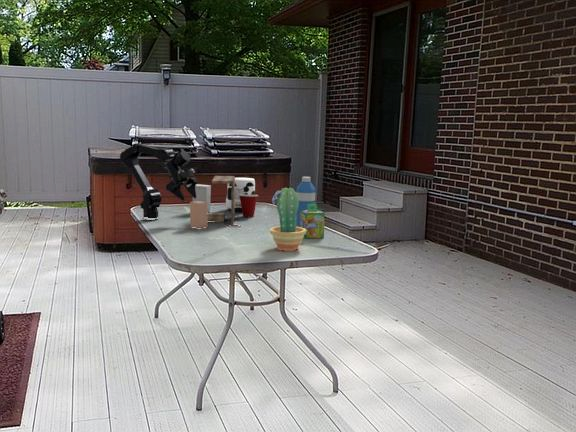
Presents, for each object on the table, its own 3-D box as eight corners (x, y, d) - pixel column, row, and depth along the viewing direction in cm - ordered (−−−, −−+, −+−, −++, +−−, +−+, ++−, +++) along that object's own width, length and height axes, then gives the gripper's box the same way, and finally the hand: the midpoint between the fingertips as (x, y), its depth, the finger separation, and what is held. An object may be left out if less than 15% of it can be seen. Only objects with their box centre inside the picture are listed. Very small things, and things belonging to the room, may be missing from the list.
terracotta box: (190, 227, 281) (190, 202, 279) (198, 226, 285) (198, 200, 283) (199, 229, 278) (199, 203, 275) (207, 227, 282) (207, 201, 280)
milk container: (246, 207, 347) (246, 176, 344) (261, 211, 333) (262, 179, 330) (220, 209, 337) (220, 178, 334) (235, 213, 323) (235, 181, 320)
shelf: (203, 224, 290) (203, 180, 286) (207, 216, 313) (207, 175, 310) (233, 224, 291) (233, 181, 287) (234, 216, 314) (234, 176, 311)
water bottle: (313, 230, 280) (314, 178, 275) (293, 229, 281) (294, 177, 277) (316, 227, 289) (317, 176, 284) (297, 226, 290) (298, 175, 286)
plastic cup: (259, 215, 320) (260, 193, 318) (256, 218, 310) (257, 195, 308) (240, 214, 321) (240, 192, 319) (236, 217, 311) (236, 195, 309)
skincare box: (192, 213, 321) (191, 185, 318) (197, 211, 327) (197, 184, 324) (206, 214, 318) (205, 186, 316) (211, 212, 324) (211, 184, 322)
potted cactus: (285, 242, 252) (286, 184, 248) (313, 248, 243) (315, 188, 238) (261, 248, 240) (261, 187, 236) (290, 254, 231) (291, 191, 227)
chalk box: (305, 238, 261) (305, 205, 258) (299, 234, 270) (299, 202, 267) (324, 238, 263) (325, 205, 261) (318, 234, 272) (319, 202, 270)
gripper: (173, 164, 275) (188, 193, 273) (197, 161, 292) (212, 189, 290) (158, 176, 281) (173, 204, 279) (183, 173, 297) (197, 200, 295)
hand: (189, 199), depth 285 cm, fingers open, 9 cm apart
